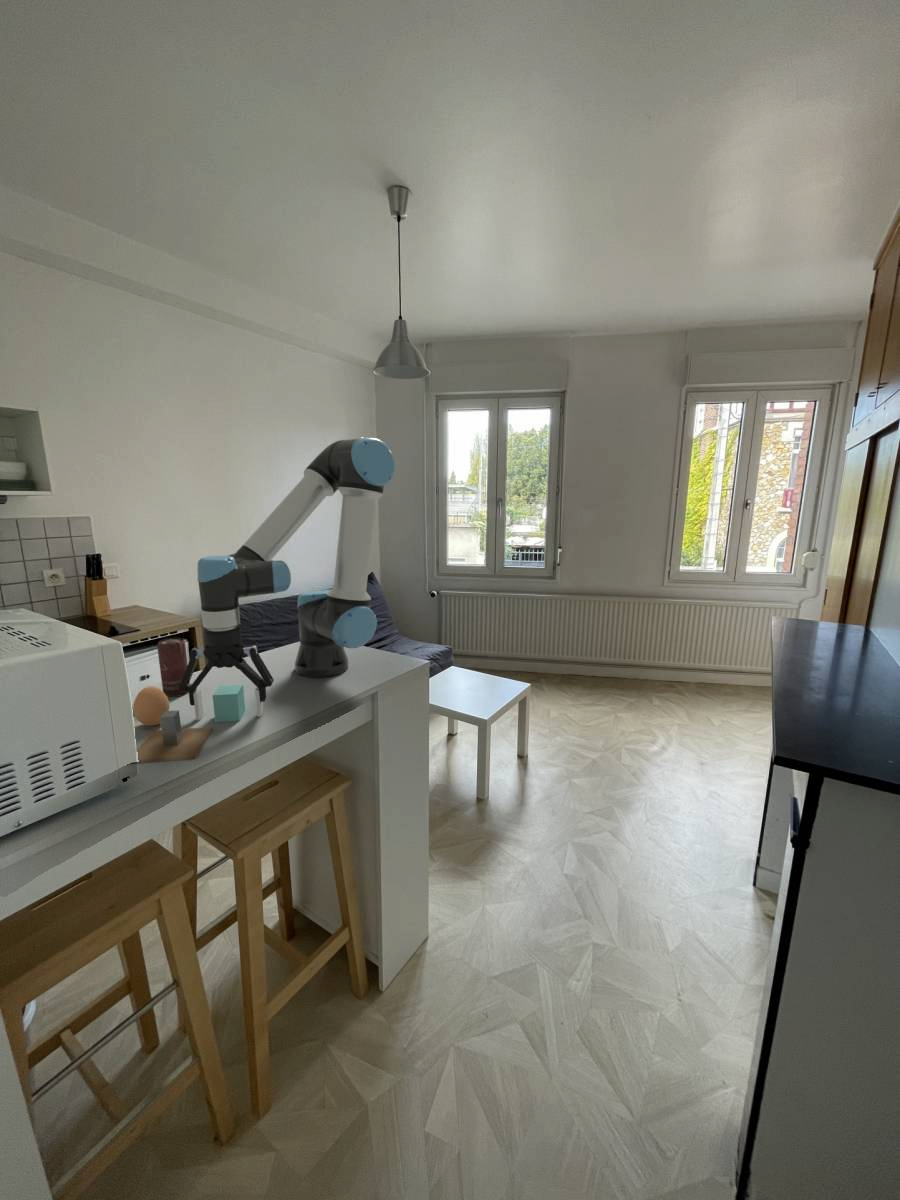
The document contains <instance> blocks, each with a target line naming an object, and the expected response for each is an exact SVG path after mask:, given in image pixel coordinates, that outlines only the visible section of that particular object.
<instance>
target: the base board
mask: <svg viewBox="0 0 900 1200" xmlns="http://www.w3.org/2000/svg"><path fill="white" fill-rule="evenodd" d="M214 729H215V728H214V726H208V727H192V728H191V727H190V728H181V732H182V740H181V742H180V743H179V744H178V745H176V746H164V744H163V736H162V729H158V730H153V731H152V732H151V733H150V734H149V735H148V736H147V738H146V739H145V740H144V741H143V742H142V744H140V746H139V747H137V749H136V750H137V752H138V760H139V763H140V764H141V763H153V762H165V761H166V762H167V761H180V760H181V761H183V760H184V761H185V760H195V759H196V758H197V756H198V755H199V753H200V751H201V750H202V749H203V747H204V745H205V743H206V742H207V740H208V739H209V737H210V736H211V734H212V732H213V731H214ZM139 763H138V764H139Z"/></svg>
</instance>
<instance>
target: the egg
mask: <svg viewBox="0 0 900 1200" xmlns="http://www.w3.org/2000/svg"><path fill="white" fill-rule="evenodd" d="M165 711H170V700H169V697H168V696H166V695H165V693H164V692H163V689H161V688H159V687H158V686H154V685H153V686H151V685H150V686H146V687H144V688H142V689H140V691H139V692H138V693H137V695H136V697H135V699H134V702H133V714H134V717H135V718H136V720H137V721H138V722H139V723H141V724H142V725H144V726H147V727H148V726H150V727H154V726H157V725H159V724H161V721H160V717H161V715H162V714H163V713H164V712H165Z"/></svg>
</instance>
